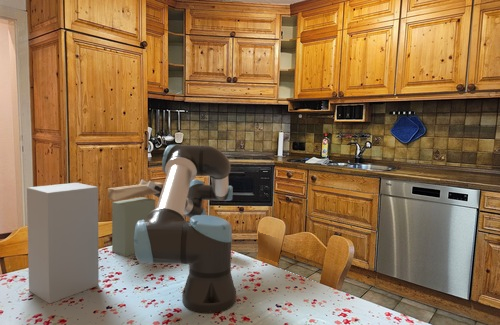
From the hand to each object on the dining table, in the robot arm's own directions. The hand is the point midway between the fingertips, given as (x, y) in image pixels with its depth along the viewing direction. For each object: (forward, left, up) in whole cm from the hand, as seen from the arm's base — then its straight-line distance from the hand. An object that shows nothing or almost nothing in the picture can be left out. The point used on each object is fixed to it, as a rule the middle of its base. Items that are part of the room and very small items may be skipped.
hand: (144, 183), depth 133 cm
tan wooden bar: (0, +3, -5) cm, 6 cm away
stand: (-12, +38, -26) cm, 48 cm away
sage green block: (0, +5, -26) cm, 27 cm away
